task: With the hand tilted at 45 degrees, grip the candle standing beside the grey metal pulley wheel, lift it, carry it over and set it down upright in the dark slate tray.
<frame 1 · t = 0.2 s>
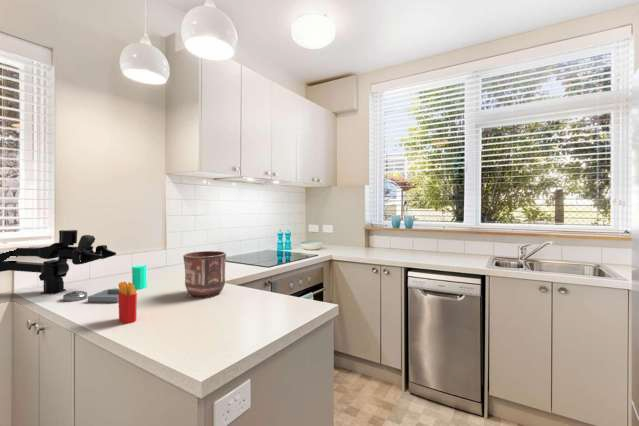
hand: (109, 255, 144), 17 cm above the countertop, tool horizontal, fingers open, 9 cm apart
pulley: (75, 298, 134), on the countertop
pottery: (205, 294, 143), on the countertop
tray: (112, 298, 135), on the countertop
candle: (139, 288, 153), on the countertop
french fries: (127, 320, 109), on the countertop
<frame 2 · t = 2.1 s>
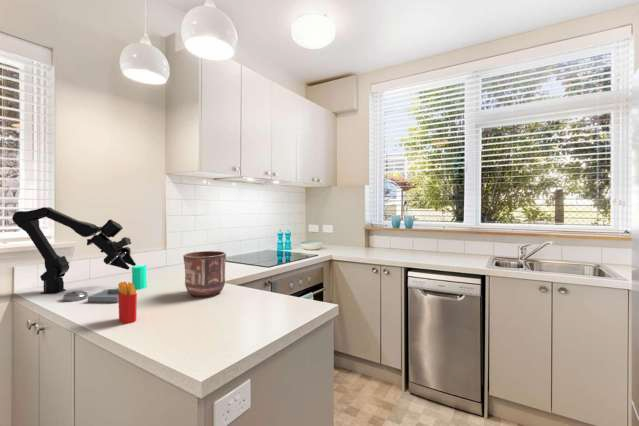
hand: (132, 267, 152), 10 cm above the countertop, tool tilted 45°, fingers open, 9 cm apart
nothing on the countertop moved.
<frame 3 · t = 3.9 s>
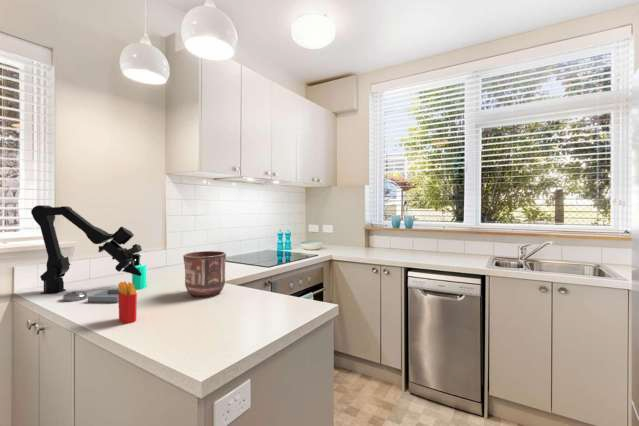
hand: (142, 273, 153), 7 cm above the countertop, tool tilted 45°, fingers closed on candle, 6 cm apart
candle: (139, 288, 153), on the countertop, touching gripper
everything else where it was.
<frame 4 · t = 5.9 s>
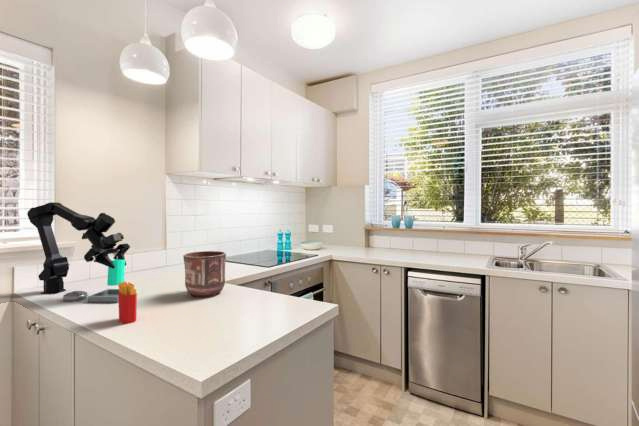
hand: (119, 266, 137), 13 cm above the countertop, tool tilted 45°, fingers closed on candle, 6 cm apart
candle: (115, 285, 136), point 5 cm above the countertop, touching gripper
everything else where it was.
when the fingers open (8 cm above the countertop, at t = 7.4 s): candle stays where it is, resting on tray.
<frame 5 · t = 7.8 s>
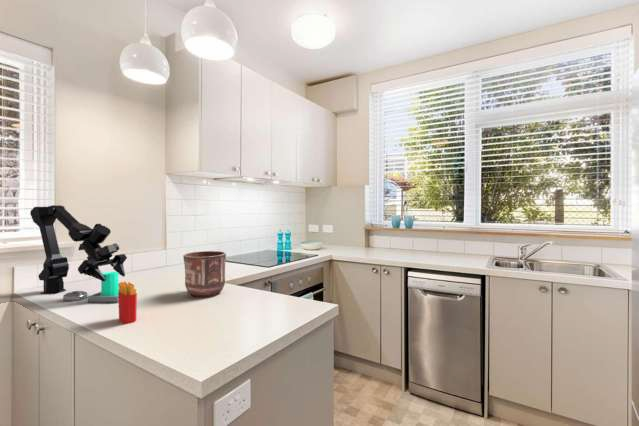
hand: (114, 278, 134), 9 cm above the countertop, tool tilted 45°, fingers open, 9 cm apart
candle: (110, 298, 134), resting on tray
everything else where it was.
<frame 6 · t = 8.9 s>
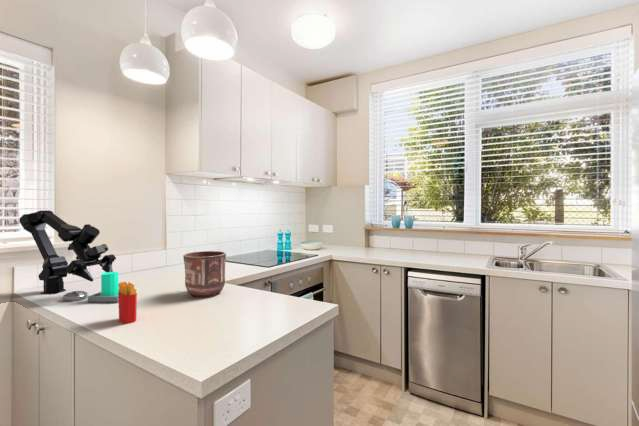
hand: (102, 278, 136), 8 cm above the countertop, tool tilted 45°, fingers open, 9 cm apart
nothing on the countertop moved.
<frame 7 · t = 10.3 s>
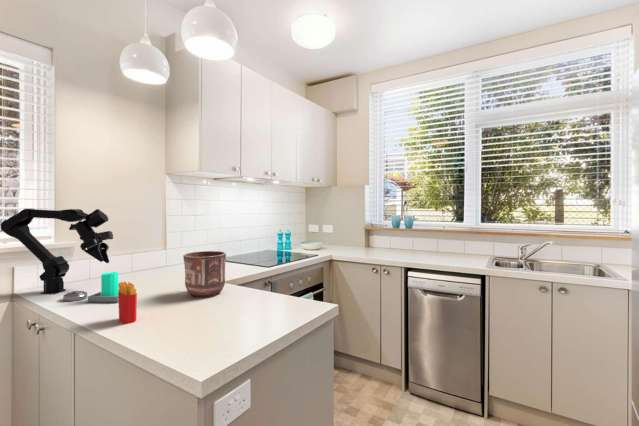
hand: (105, 262, 145), 14 cm above the countertop, tool tilted 35°, fingers open, 9 cm apart
nothing on the countertop moved.
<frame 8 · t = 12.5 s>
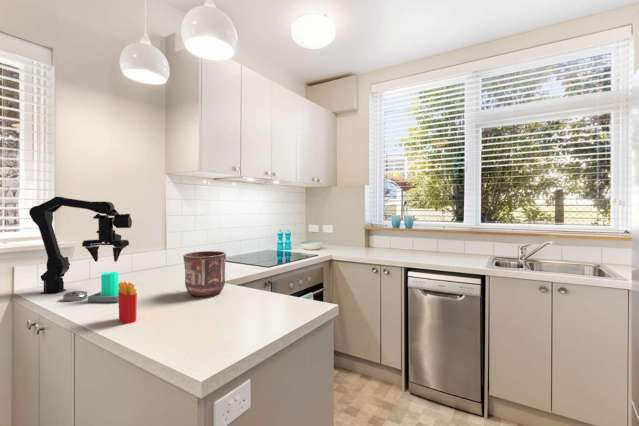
hand: (106, 261, 150), 13 cm above the countertop, tool pointing down, fingers open, 9 cm apart
nothing on the countertop moved.
at the end: candle inside the target area on the tray (1.0 cm from its centre), point 0.4 cm above the tray's base; candle tilted 0°; the gripper is holding nothing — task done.
